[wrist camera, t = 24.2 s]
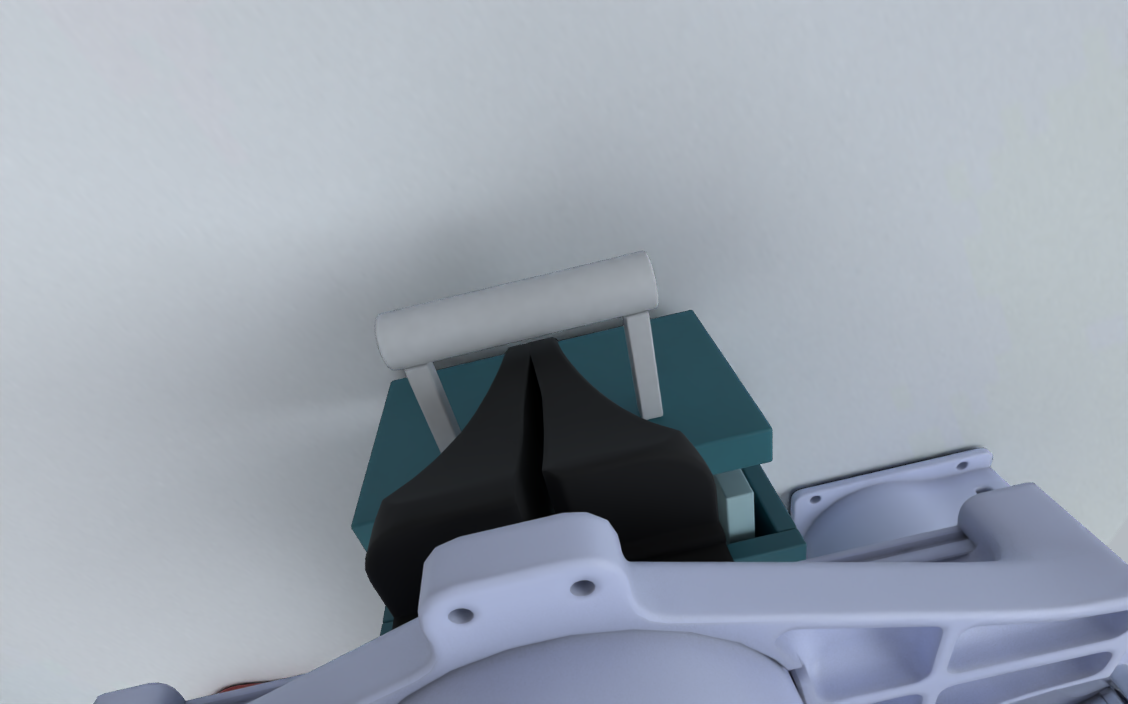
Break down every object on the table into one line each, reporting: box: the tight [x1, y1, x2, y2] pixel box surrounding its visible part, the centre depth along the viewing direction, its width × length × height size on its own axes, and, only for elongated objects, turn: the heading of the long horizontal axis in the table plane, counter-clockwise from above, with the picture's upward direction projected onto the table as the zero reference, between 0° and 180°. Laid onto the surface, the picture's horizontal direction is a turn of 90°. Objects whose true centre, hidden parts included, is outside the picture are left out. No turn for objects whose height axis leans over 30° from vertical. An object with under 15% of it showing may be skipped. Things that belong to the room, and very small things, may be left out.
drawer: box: [351, 251, 772, 552], centre depth 19 cm, size 17×11×7 cm, turn 12°
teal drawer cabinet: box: [380, 464, 807, 636], centre depth 22 cm, size 13×12×8 cm
